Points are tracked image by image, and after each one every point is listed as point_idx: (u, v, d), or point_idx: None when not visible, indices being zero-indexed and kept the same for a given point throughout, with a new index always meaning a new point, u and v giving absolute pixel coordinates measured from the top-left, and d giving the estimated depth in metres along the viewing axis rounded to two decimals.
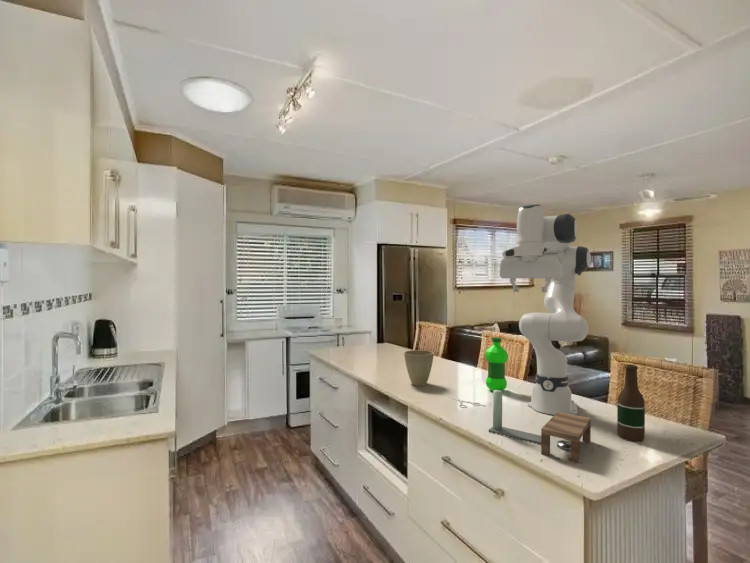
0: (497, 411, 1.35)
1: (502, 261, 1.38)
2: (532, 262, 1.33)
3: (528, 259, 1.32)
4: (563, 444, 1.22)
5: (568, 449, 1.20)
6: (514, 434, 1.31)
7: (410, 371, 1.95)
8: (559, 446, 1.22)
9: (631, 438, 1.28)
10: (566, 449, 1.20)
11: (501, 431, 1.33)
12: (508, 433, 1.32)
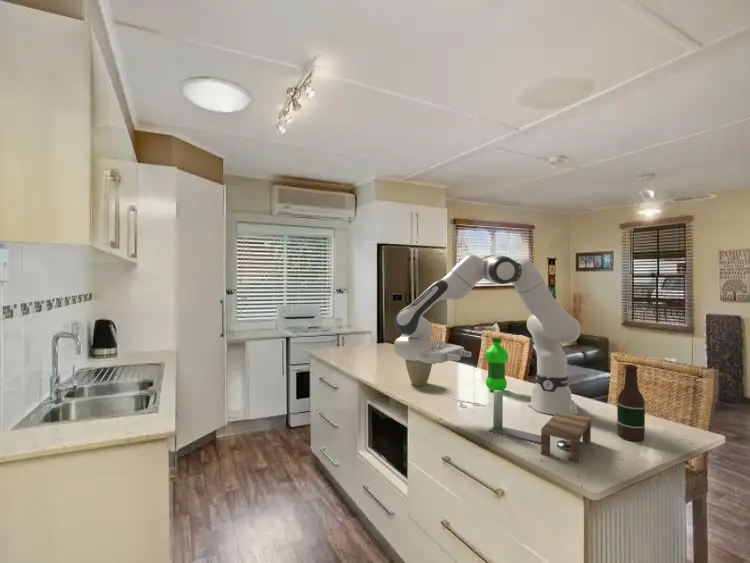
0: (497, 411, 1.35)
1: None
2: None
3: None
4: (563, 444, 1.22)
5: (568, 449, 1.20)
6: (514, 434, 1.31)
7: (410, 371, 1.95)
8: (559, 446, 1.22)
9: (631, 438, 1.28)
10: (566, 449, 1.20)
11: (501, 431, 1.33)
12: (508, 433, 1.32)
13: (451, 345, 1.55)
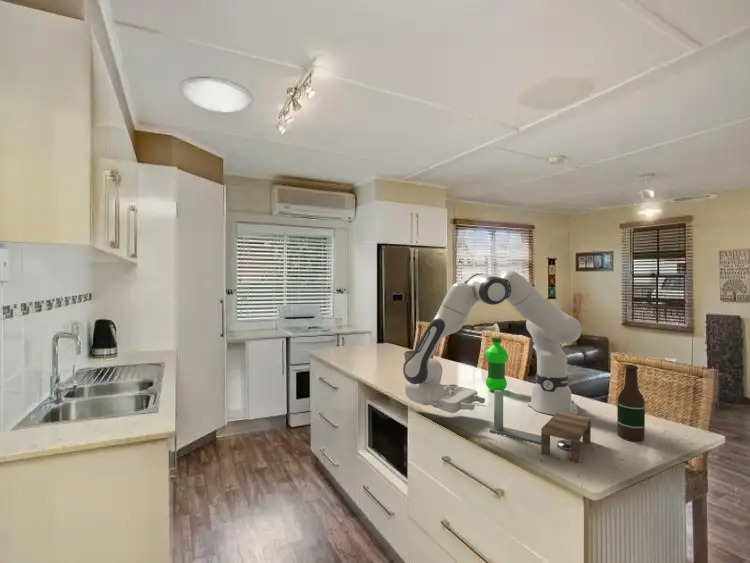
0: (498, 411, 1.34)
1: None
2: None
3: None
4: (563, 444, 1.22)
5: (568, 449, 1.20)
6: (515, 434, 1.31)
7: None
8: (559, 446, 1.22)
9: (631, 438, 1.28)
10: (566, 449, 1.20)
11: (502, 431, 1.33)
12: (509, 433, 1.32)
13: (464, 389, 1.52)
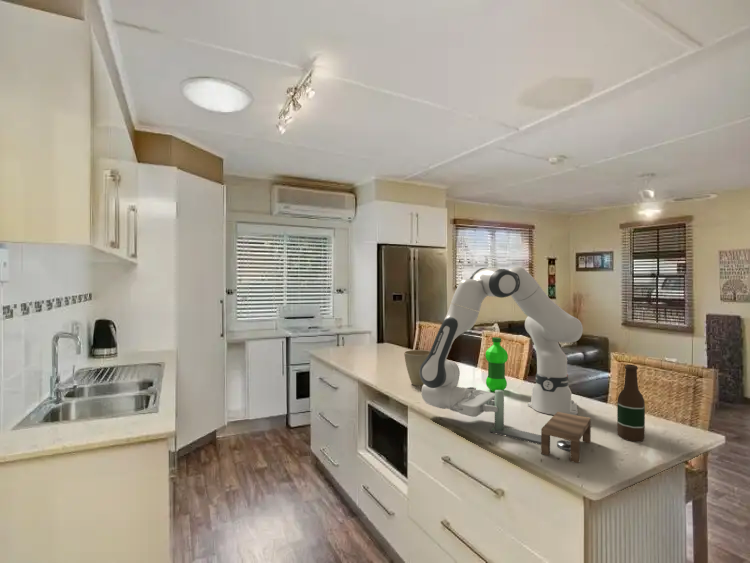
0: (499, 411, 1.34)
1: None
2: None
3: None
4: (563, 444, 1.22)
5: (568, 449, 1.20)
6: (516, 434, 1.31)
7: (410, 371, 1.95)
8: (559, 446, 1.22)
9: (631, 438, 1.28)
10: (566, 449, 1.20)
11: (503, 431, 1.33)
12: (510, 433, 1.31)
13: (482, 392, 1.47)
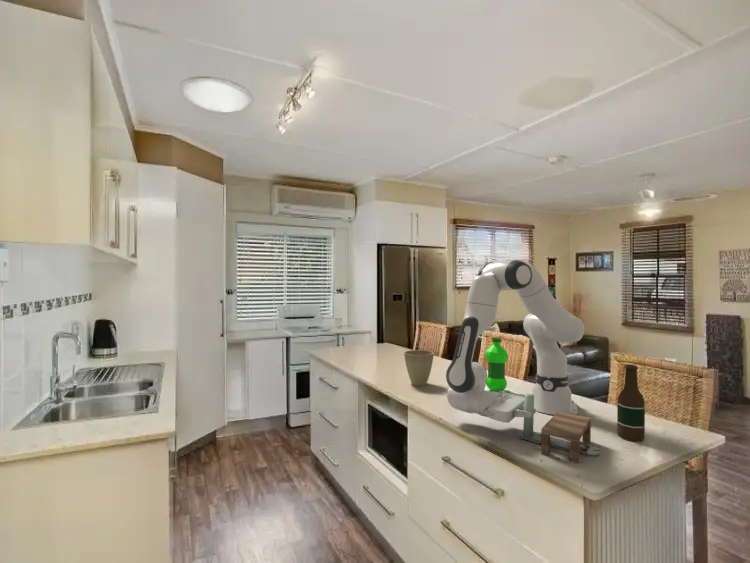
0: None
1: None
2: None
3: None
4: (584, 449, 1.18)
5: (590, 454, 1.16)
6: None
7: (410, 371, 1.95)
8: (580, 451, 1.18)
9: (631, 438, 1.28)
10: (588, 454, 1.16)
11: (532, 437, 1.27)
12: (540, 439, 1.26)
13: (512, 396, 1.41)
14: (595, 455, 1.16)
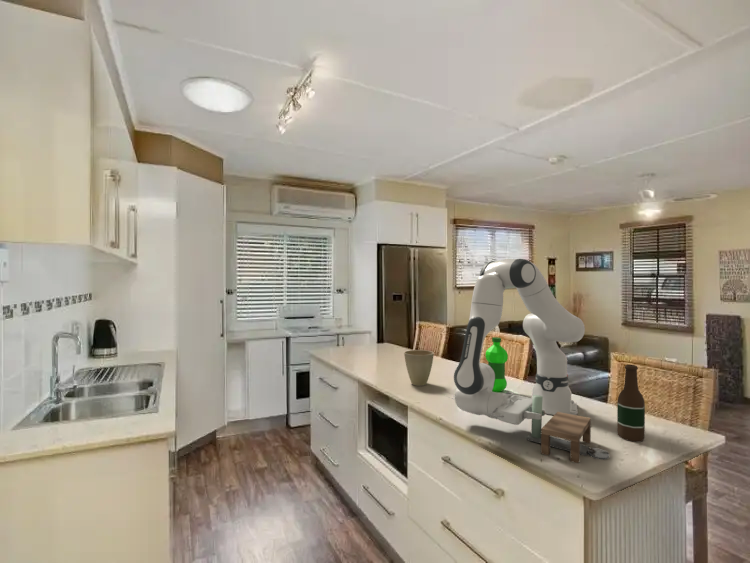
0: None
1: None
2: None
3: None
4: (594, 452, 1.17)
5: (599, 457, 1.14)
6: (555, 443, 1.23)
7: (410, 371, 1.95)
8: (590, 454, 1.17)
9: (631, 438, 1.28)
10: (597, 457, 1.15)
11: None
12: None
13: (520, 397, 1.39)
14: (605, 458, 1.14)
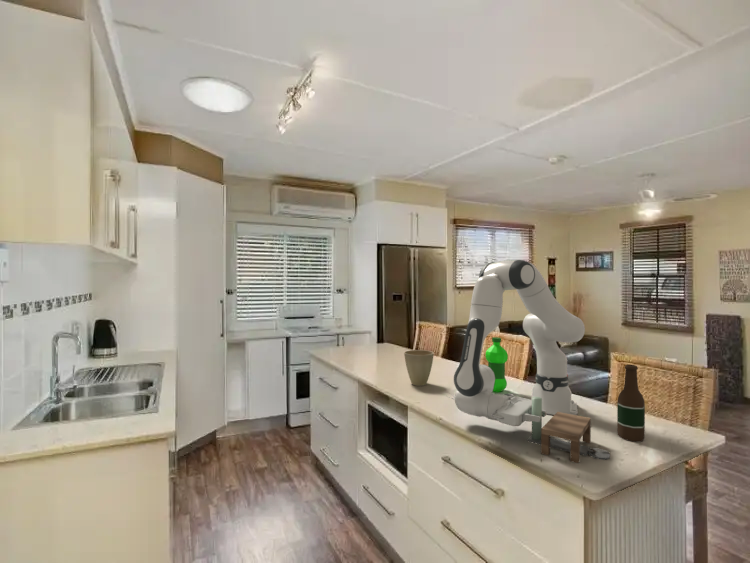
0: None
1: None
2: None
3: None
4: (594, 452, 1.17)
5: (600, 457, 1.14)
6: (556, 444, 1.23)
7: (410, 371, 1.95)
8: (590, 454, 1.16)
9: (631, 438, 1.28)
10: (598, 457, 1.15)
11: None
12: None
13: (520, 399, 1.39)
14: (606, 458, 1.14)
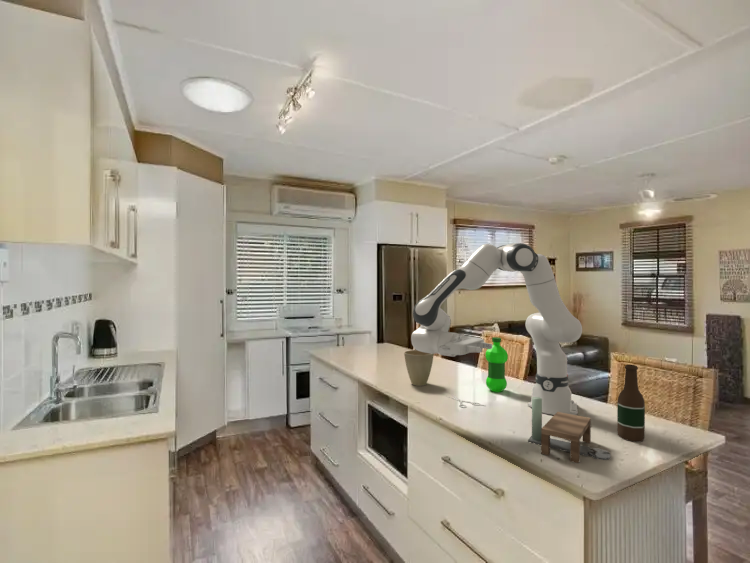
0: (537, 420, 1.26)
1: None
2: None
3: None
4: (595, 452, 1.17)
5: (601, 457, 1.14)
6: (556, 444, 1.23)
7: (410, 371, 1.95)
8: (591, 454, 1.16)
9: (631, 438, 1.28)
10: (598, 457, 1.15)
11: None
12: (550, 443, 1.23)
13: (470, 337, 1.51)
14: (606, 459, 1.14)
